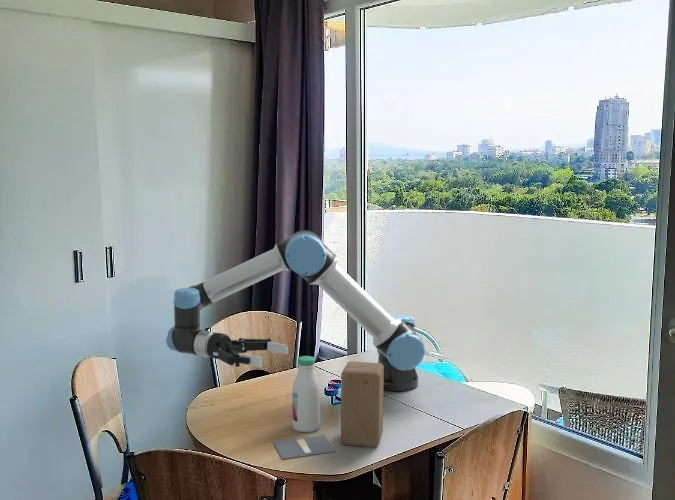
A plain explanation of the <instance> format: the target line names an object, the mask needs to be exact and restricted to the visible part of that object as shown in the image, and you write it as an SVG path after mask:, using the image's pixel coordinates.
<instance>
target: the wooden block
mask: <svg viewBox="0 0 675 500" xmlns="http://www.w3.org/2000/svg"><path fill="white" fill-rule="evenodd" d="M340 376H341V377H340V378H341V379H340V380H341V381H340V387H341V388H340V442H341V444H342V445H346V446H356V447H367V448H377V447H378V446H379V444H380V442H381V439H382V435H383V431H384V389H383V386H384V366H383V364H381V363H378V362H370V361H369V362H367V361H366V362H365V361H355V360H354V361H353V360H352V361H351V360H350V361H347V363H346V365H345V366H344V368H343V369H342V371H341V374H340Z"/></svg>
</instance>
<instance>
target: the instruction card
mask: <svg viewBox="0 0 675 500" xmlns="http://www.w3.org/2000/svg"><path fill="white" fill-rule="evenodd" d="M272 443H273V445H274V447H275V449H276V450H277V453H278V454H279V457H280V458H281V460H282V461H284V460H290V459H297V458H303V457H312V456H317V455H318V456H319V455H324V454H325V455H326V454H330V453H336V452H337V449H336V448H335V447H334V446H333V445H332V443H331V442H330V441H329V440H328V438H327V437H326V435H325V434H323V435H321V434H320V435H314V436H308V437H301V438H294V439H293V438H291V439H286V440H285V439H284V440H278V441H273V442H272Z"/></svg>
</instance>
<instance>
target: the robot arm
mask: <svg viewBox="0 0 675 500" xmlns="http://www.w3.org/2000/svg"><path fill="white" fill-rule="evenodd" d="M319 236H320V235H317V234H316V233H315V232H314V231H311V230H299V231H297V232H295V233H293V234H292V235H289V236H288V237H286V238H285V239H283V240H282V241H280V242H277V243H275V245H274V247H273V248H272V249H270V250H268V251H265V252H263V253H261V254H259V255H257V256H255V257H253V258H250V259H248V260H247V261H244V262H243V263H240V264H238V265H236V266H234V267H232V268H229V269H227V270H225V271H223V272H221V273H220V274H217V275H215V276H212V277H211V278H209V279H206V280H204V281H202V282H200V283H198V284H196V285H191V286H189V287H183V288H178V289H176V290H175V291H174V294H173V295H174V296H173V302H172V303H173V309H174V310H173V313H174V315H173V317H174V326H172V327H171V328H170V329H169V330H168V331H167V336H166V337H165V338H166V339H165V340H166V341H165V342H166V345H167V347H168V348H169V349H170V350H171V351H174V352H178V353H181V354H189V355H194V356H201V357H203V358H204V359H207V358H211V359H215V360H220V361H221V362H224V363H225V364H227V365H229V366H231V367H232V366H235V367H236V368H237V367H238V368H239V367H240V366H241V365H244V366H245V365H246V366H251V367H256V368H262V367H263V357H262V356H259V355H258V356H257V355H253V354H247V352H252V351H253V352H254V351H267V352H270V353H274V354H275V353H276V354H281V355H288V354H289V352H288V351H289V349H288V348H289V344H285V343H279V342H273V341H272V339H271V338H243V337H240V338H238V339H231V338H230V336H229V335H228V334H226V333H221V332H215V331H210V330H209V331H208V330H203V329H201V326H200V325H201V311H202V309H204V308H206V307H208V306H210V305H212V304H214V303H216V302H217V301H220V300H223V299H225V298H226V297H229V296H230V295H233V294H235V293H237V292H239V291H242V290H244V289H246V288H248V287H251V286H252V285H255V284H257V283H259V282H260V281H263V280H265V279H267V278H269V277H272V276H273V275H276V274H278V273H281V272H283V271H287V272H289V271H293V272H294V273H296V274H298V275H299V276H301V277H302V278H303V279H304V280H305V281H306V282H307V283H308V284H309V285H318V286H319V287H320V289H321V290H323V291H324V292H325V293H326V294H327V295H328V296H329V297H330V298H331V299H332V300H333V301H334V302H335V303H336V304H338V306H339V307H340V308H342V310H343V311H344V312H346V313H347V315H349V316H350V317H351V318H352V319H353V320H354V321H355V322H356V323H357V324H358V325H359V326H360V328H361V327H362V329H364V330H365V332H366V333H367V334H368V335H369V336H371V337H372V344H373V346H374V347H375V348H376V349H377V350H378V360H377V363H381V364H383V366H384V386H383V391H384V390H385V391H390V392H407V391H411V390H414V389H416V388H417V387H418V386H419V376H418V371H417V369H416V368H417V367H418V366H419V365H420V364H421V363H422V362H423V360H424V358H425V354H426V353H425V352H426V351H425V346H424V341H423V340H422V338H421V337H420V336H419V335H418V334H417V332H416V331H415V326H416V323H415V318H414V317H413V316H410V315H398V314H397V315H392V314H389V312H387V311H386V310H385V309H384V308H383V307H382V306H381V305H380V304H379V303H378V302H377V301H376V300H375V299H374V298H373V297H372V296H371V295H370V294H369V293H368V292H367V291H366V290H365V289H363V287H361V285H359V284H358V282H356V280H355V279H353V278H352V276H350V275H349V273H347V272H346V271H345V270H344V269H343V268H342V267H341V266H340V265H339V264H338V256H337V255H336V254H335V253H334V252H333V251H332V250H331V249H330V248H329V247H328V246H327V245H325V244H324V242H323V241H322V239H321V238H320V237H319Z"/></svg>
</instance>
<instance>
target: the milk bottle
mask: <svg viewBox="0 0 675 500" xmlns="http://www.w3.org/2000/svg"><path fill="white" fill-rule="evenodd" d="M315 360H316V358H315V357H314V356H311V355H302V356H299V357H298V358H297V366H298V371H297V373H296V376H295V378H294V380H293V386H292V395H291V396H292V399H291V400H292V404H291V405H292V406H291V407H292V409H291V411H292V428H293V430H295V431H296V432H300V433H313V432H316V431H318V430H319V429H320V427H321V386H320V381H319V378H318V377H317V374H316V372H315Z"/></svg>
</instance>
